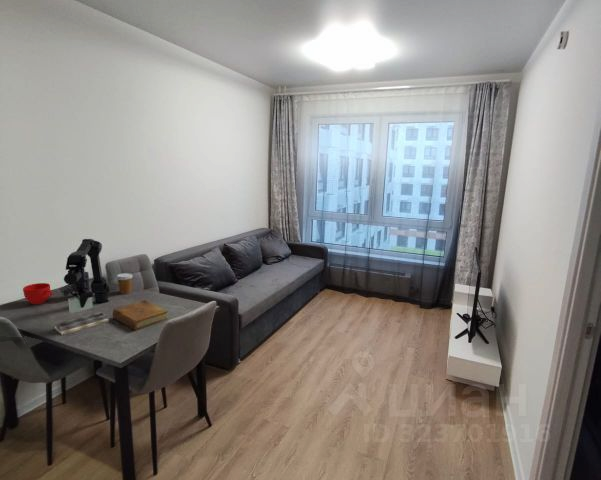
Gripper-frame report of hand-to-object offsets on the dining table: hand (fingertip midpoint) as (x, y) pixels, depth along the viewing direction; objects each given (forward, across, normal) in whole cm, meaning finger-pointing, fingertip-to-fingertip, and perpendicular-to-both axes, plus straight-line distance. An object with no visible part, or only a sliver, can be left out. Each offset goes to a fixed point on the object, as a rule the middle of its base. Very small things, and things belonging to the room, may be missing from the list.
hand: (81, 306), depth 183 cm
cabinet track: (+10, 0, 0) cm, 10 cm away
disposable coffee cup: (+10, -32, +37) cm, 50 cm away
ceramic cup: (+10, -48, -5) cm, 49 cm away
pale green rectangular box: (+2, 0, 0) cm, 2 cm away
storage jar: (+10, -43, +15) cm, 47 cm away
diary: (+11, +14, +24) cm, 30 cm away
